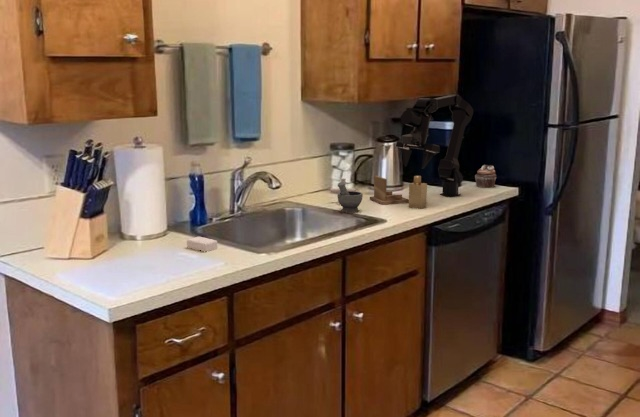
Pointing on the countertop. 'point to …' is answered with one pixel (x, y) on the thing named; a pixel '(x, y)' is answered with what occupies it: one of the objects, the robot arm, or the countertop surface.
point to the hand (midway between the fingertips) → (413, 167)
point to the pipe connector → (339, 189)
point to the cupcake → (485, 177)
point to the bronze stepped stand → (385, 193)
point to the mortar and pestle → (349, 199)
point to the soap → (202, 244)
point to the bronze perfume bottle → (417, 193)
